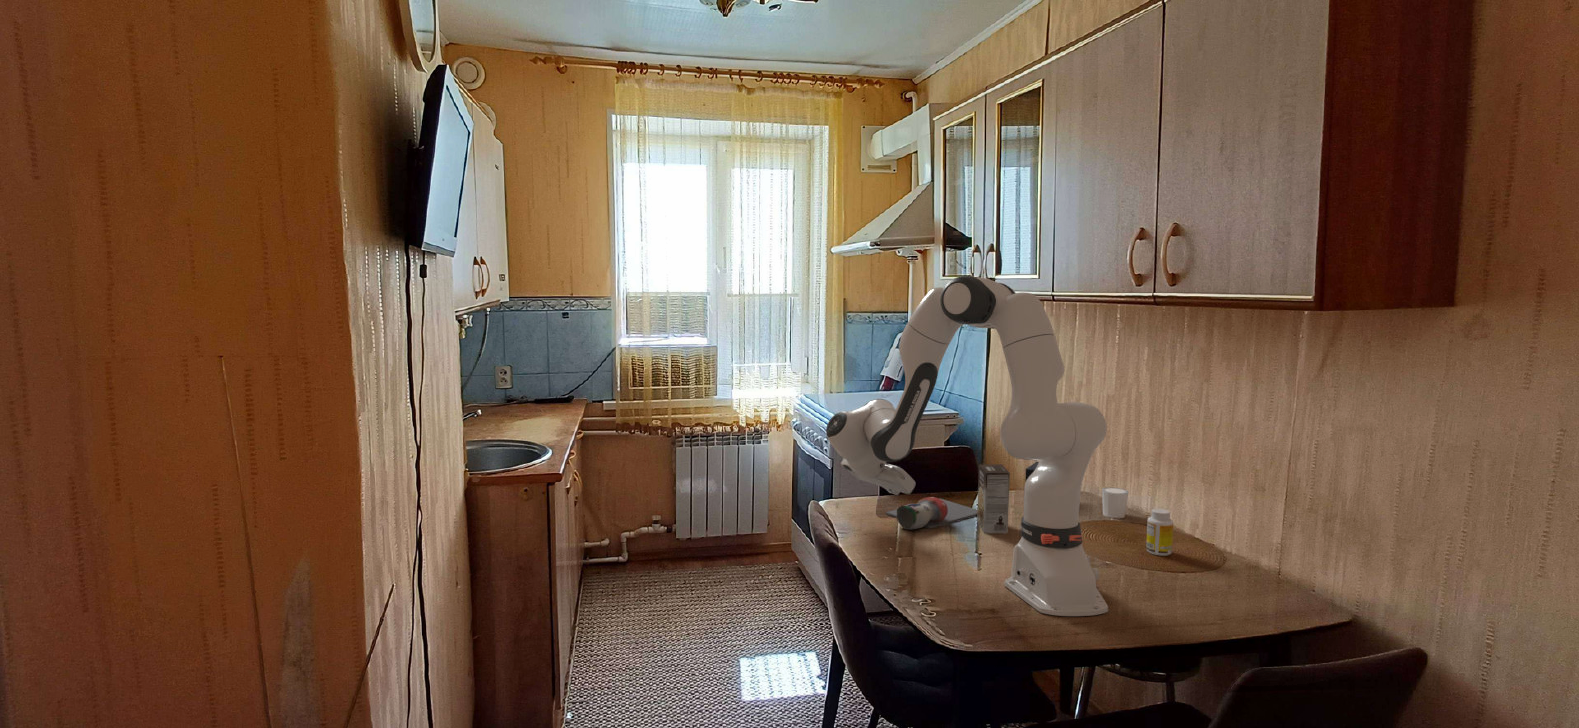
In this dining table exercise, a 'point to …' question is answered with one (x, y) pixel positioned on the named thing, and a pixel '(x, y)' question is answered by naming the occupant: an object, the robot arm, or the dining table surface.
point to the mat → (953, 514)
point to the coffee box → (993, 498)
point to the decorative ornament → (921, 513)
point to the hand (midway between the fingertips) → (895, 492)
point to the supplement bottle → (1159, 533)
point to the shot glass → (1114, 502)
